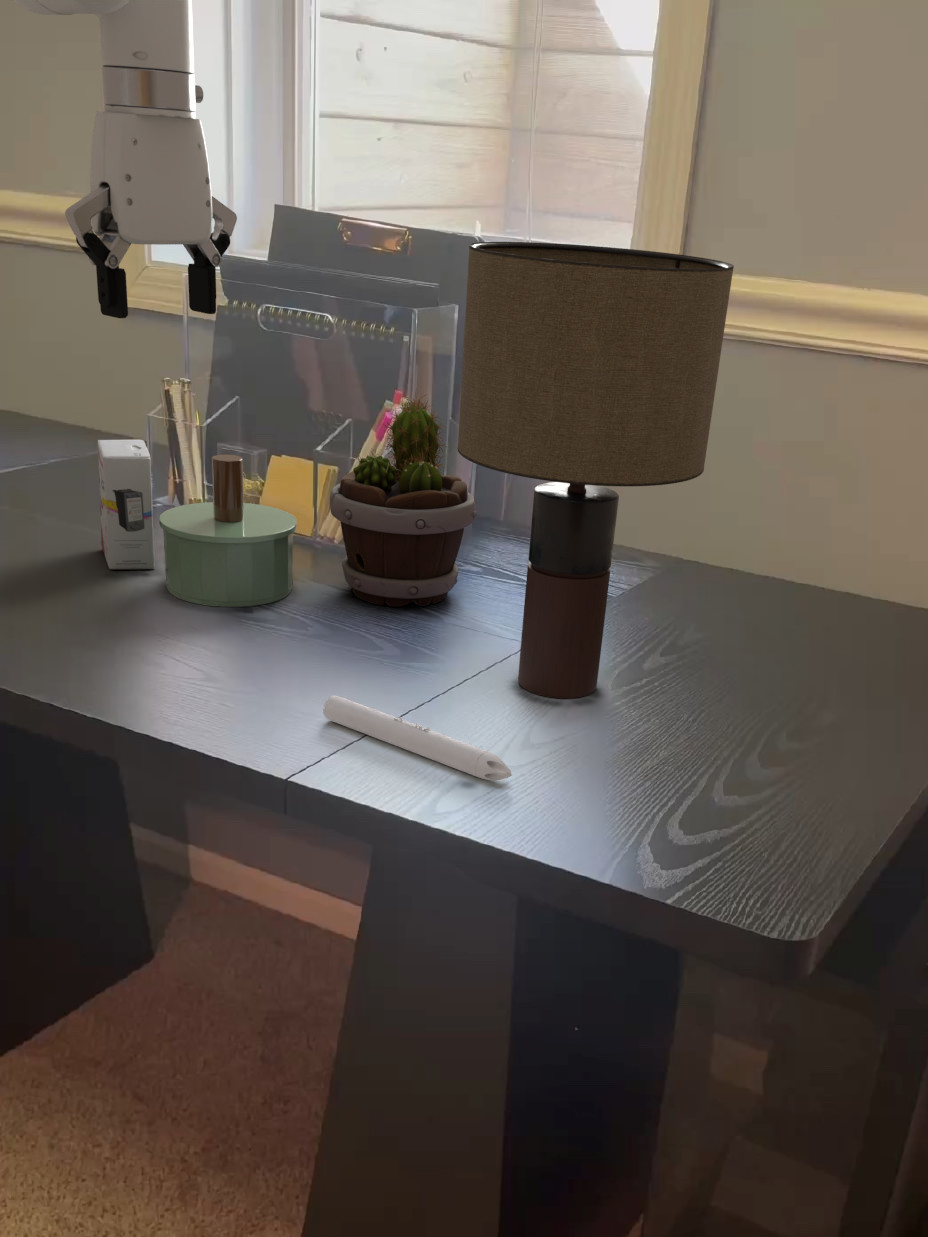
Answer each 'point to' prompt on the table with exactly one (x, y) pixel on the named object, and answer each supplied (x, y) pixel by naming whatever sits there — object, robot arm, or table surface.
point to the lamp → (585, 413)
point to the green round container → (228, 571)
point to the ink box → (126, 504)
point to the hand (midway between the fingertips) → (159, 313)
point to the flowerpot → (403, 517)
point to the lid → (228, 512)
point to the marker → (416, 739)
